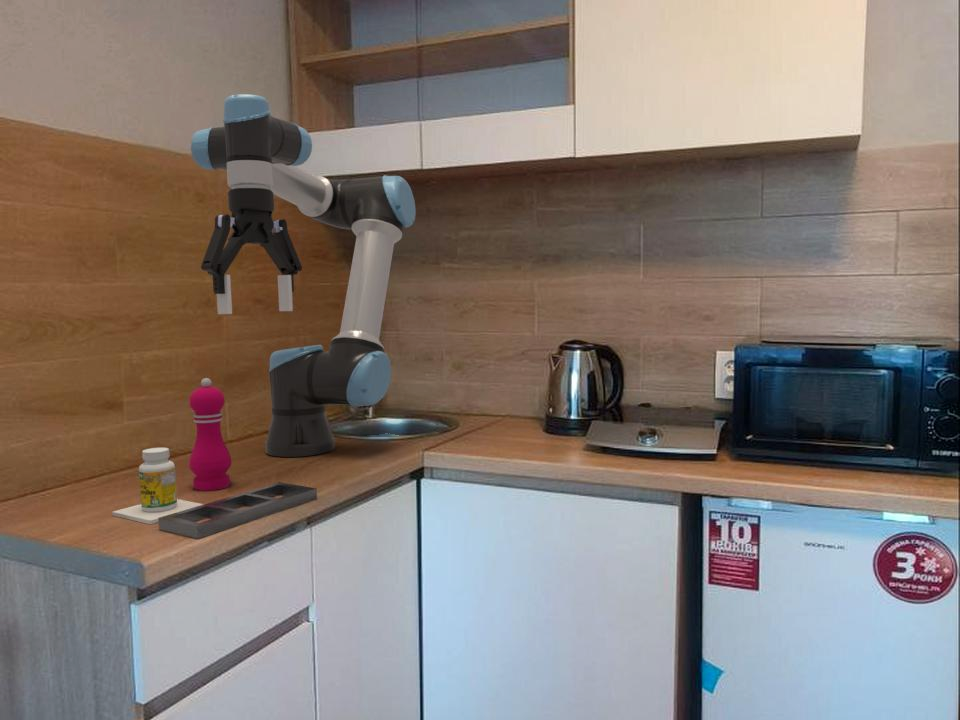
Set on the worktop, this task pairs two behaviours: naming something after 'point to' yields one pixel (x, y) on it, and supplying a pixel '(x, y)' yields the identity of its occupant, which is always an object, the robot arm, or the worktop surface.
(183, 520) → the rack frame
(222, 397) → the pepper mill
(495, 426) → the worktop surface
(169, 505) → the supplement bottle
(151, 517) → the white mat
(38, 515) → the worktop surface
